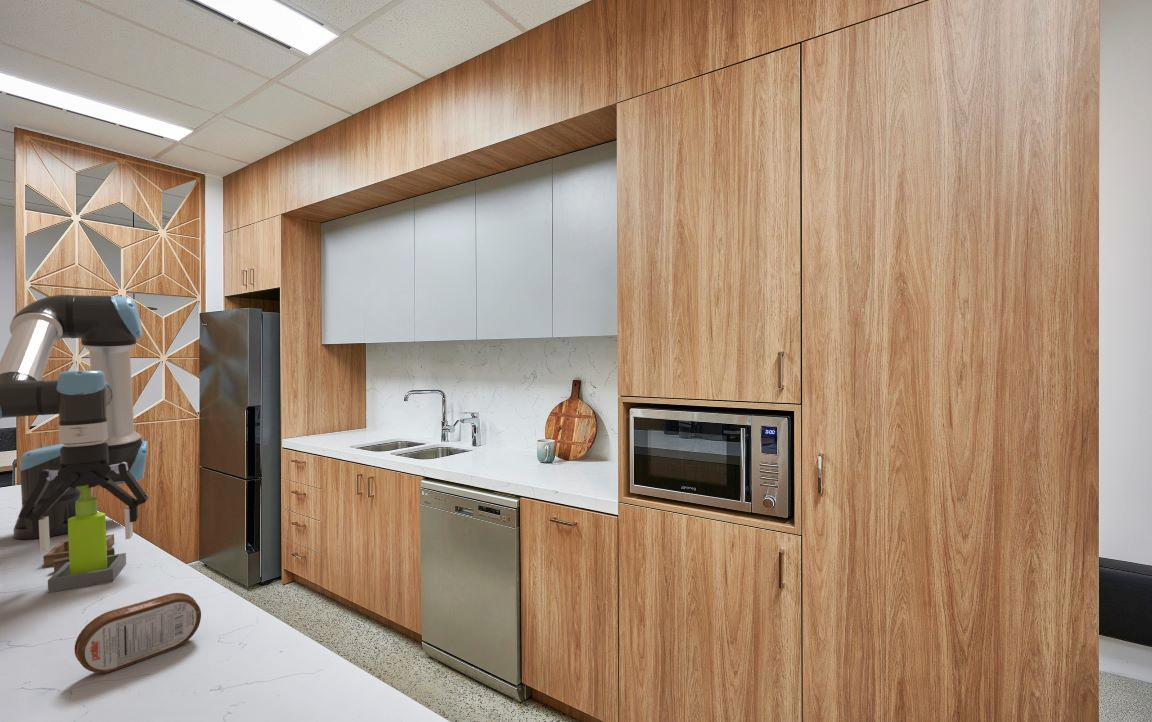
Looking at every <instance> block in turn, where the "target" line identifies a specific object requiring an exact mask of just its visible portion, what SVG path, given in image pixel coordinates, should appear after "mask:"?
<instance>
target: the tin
mask: <svg viewBox="0 0 1152 722" xmlns="http://www.w3.org/2000/svg"><path fill="white" fill-rule="evenodd" d="M201 620H202V610H201V608H200V605H199V604H198V603H197V601H196V600H195V598H194V597H193V596H191V595H190V594H187V593H184V592H174V593H173V592H172V593H167V594H163V595H161V596H158V597H155V598H153V597H152V598H151V599H147V600H143V601H140V602H138V603H137V602H136V603H133V604H129V605H126V606H123V607H119V608H115V609H111V610H108V611H107V612H104V613H102V614H100V615H98V616H97V617H95V618H93V619H92V620H91V621H89V623H88V624H86V626H84V627H83V628H82V630H81V631H80V633H79V634H78V636H77V637H76V640H75V644H74V656H75V657H76V659H77V661H78V662H79V664H81V666H82V667H83V668H84V669H86V670H87V671H89V672H93V673H98V674H105V673H111V672H114V671H117V670H121V669H122V668H127V667H128V666H131V665H134V664H137V663H139V662H143V661H146V660H148V659H151V658H155V657H156V656H159V655H162V654H164V653H167V652H170V651H173V650H176V649H177V648H180V647H181V646H183V645H184V644H186V643H187V642H188V641H189V640H190V639H191V638H192V637H193V636H194V635H195V633H196V632H197V630H198V628H199V627H200V624H201Z"/></svg>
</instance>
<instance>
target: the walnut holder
mask: <svg viewBox="0 0 1152 722" xmlns="http://www.w3.org/2000/svg"><path fill="white" fill-rule="evenodd" d="M106 544H107V549H108V548H112V547H113V546H114V545H115V534H114V533H113V534H106ZM65 557H69V540H65V541H60V542H59V543H57V544H55V546H54V547H52V548H51V549H50V550H49V551H48V552H47V553H45V554H44V555H43V557H42V558H43V560H42V561H43V568H48V567H54V560H56V559H61V558H65Z"/></svg>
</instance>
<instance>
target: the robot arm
mask: <svg viewBox="0 0 1152 722" xmlns="http://www.w3.org/2000/svg"><path fill="white" fill-rule="evenodd" d="M9 332H10V334H11V336H10V338H9V340H8V342H7V344H6V347H5V350H4V352H3V355H2V356H1V358H0V419H6V418H7V419H8V418H18V417H20V418H21V417H31V416H48V415H58V417H59V418H58V419H59V420H58V432H59V444H54V445H53V444H52V445H48V446H43V447H38V448H35V449H32V450H28V451H26V452H24V453H22V455H21V457H20V466H19V467H20V469H19V472H20V488H21V489H20V491H21V508H20V511H19V514H18V517H17V519H16V522H15V525H14V527H13V538H14V539H16V540H34V539H35V540H36V539H39V553H42V552H46V551H48V550H49V549H50V548H51V546H50V544H51V542H50V541H51V540H50V539H51V538H50V537H54V536H60V535H64V534H68V519H69V518H71V517H74V516H76V508H75V502H76V501H77V500H78V499H81V495H80V489H75V487H76V486H82V485H88V486H89V487H88V488H91V489H92V488H96V487H100V488H103V489H105V490H106V491H108V492H109V493H111V494H112V495H113V496H114V497H115V498H117V499H118V500H120V502H122V503H124V504H125V505H127V506H126V507H125V508H124V532H125V535H124V536H125V540H130V539H131V538H132V537H133V536H134V532H133V531H134V530H133V529H134V528H133V527H134V526H133V523H136V522H137V521H138V519H139V506H140V505H142V504H145V503H146V502H147V501H148V500H149V496H148V494H147V493H146V492H145V491H144V489H143V487H141V484H139V483H138V482H139V481H141V480H142V479H143V478H144V475H145V470H146V463H147V455H148V449H149V448H148V447H149V445H148V444H149V442H148V441H147V440H142V435H141V433H139V432H137V431H135V421H134V420H135V419H134V403H133V401H134V400H133V389H132V388H133V386H132V368H131V349H132V348H134V347H135V346H136V345H137V339H141V338H142V337H143V329H142V323H141V318H140V314H139V310H138V306H137V303H136V302H135V300H134V299H133V298H131V297H127V296H119V295H117V296H116V295H83V294H81V295H77V294H75V295H73V294H57V295H56V294H55V295H51V296H47V297H43V298H41V299H37V300H35V301H33V302H31V303H30V304H28V305H26V306H25V307H23V308H22V309H21V310H19V311H18V312H17V313H16V314H15V315H14V317H13V318H12V320H11V323H10V324H9ZM60 339H80V341H81V342H80V343H81V346H82V347H83V348H85V349H86V350H87V351H89V366H90V370H72V371H71V370H70V371H65V370H64V371H61V372H59V373H58V375H57V379H54V380H53V379H52V380H43V377H44V374H45V371H46V367H47V366H48V363H49V360H50V356H51V353H52V350H53V347H54V345H55V344H56V343H58V342H59V341H60ZM119 485H126V486H127V487H128V489H129V490H130V492H131V493H132V494H133V496H134V497H133V496H132V495H131V494H130V493H128V492H127V491H126V490H125V489H123V488H122V487H120V486H119Z"/></svg>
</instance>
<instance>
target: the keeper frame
mask: <svg viewBox="0 0 1152 722" xmlns="http://www.w3.org/2000/svg"><path fill="white" fill-rule="evenodd" d="M126 555H127V553H126V552H122V553H117V554H116V553H115V555H109V556H107V569H103V570H97V571H91V572H85V573H79V574H73V575H70V563H69V562H66V563H65V564H64V565H63V566H62V567H61V568H60V569H59V570H58V571H57V572H56V573H55V574H53V575H51V577H49V578H48V580H47V591H48V592H47V593H48V594H49V593H54V592H59V591H60V592H61V591H66V590H71V589H76V588H83V587H88V586H94V585H99V584H105V583H109V582H114V581H115V579H116V578H117V577H118V576H119V575H120V573H121V571H122V570H123V569H124V568H125V566H126V565H127V556H126Z"/></svg>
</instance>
